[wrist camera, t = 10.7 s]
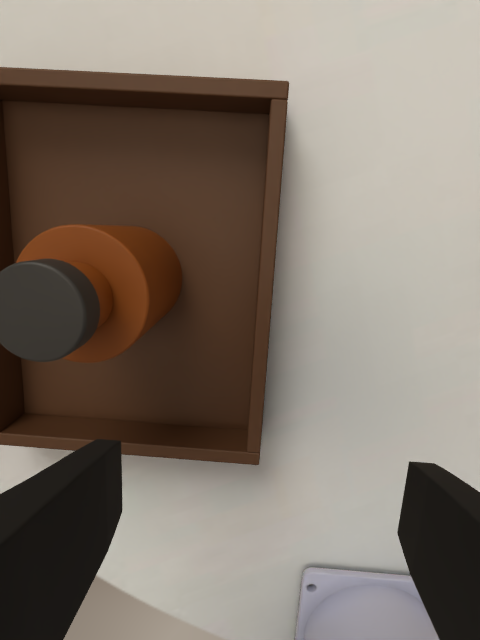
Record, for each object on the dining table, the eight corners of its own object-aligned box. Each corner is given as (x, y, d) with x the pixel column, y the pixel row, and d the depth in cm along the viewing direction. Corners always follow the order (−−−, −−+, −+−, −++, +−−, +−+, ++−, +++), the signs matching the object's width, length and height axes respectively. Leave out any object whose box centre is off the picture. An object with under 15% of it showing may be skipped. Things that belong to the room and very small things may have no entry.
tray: (258, 435, 20) (258, 465, 17) (21, 417, 20) (-13, 444, 17) (284, 103, 16) (289, 80, 14) (-4, 89, 17) (-51, 64, 14)
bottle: (181, 327, 18) (122, 402, 10) (87, 320, 18) (-43, 389, 10) (183, 229, 17) (120, 228, 9) (84, 223, 17) (-63, 217, 9)
